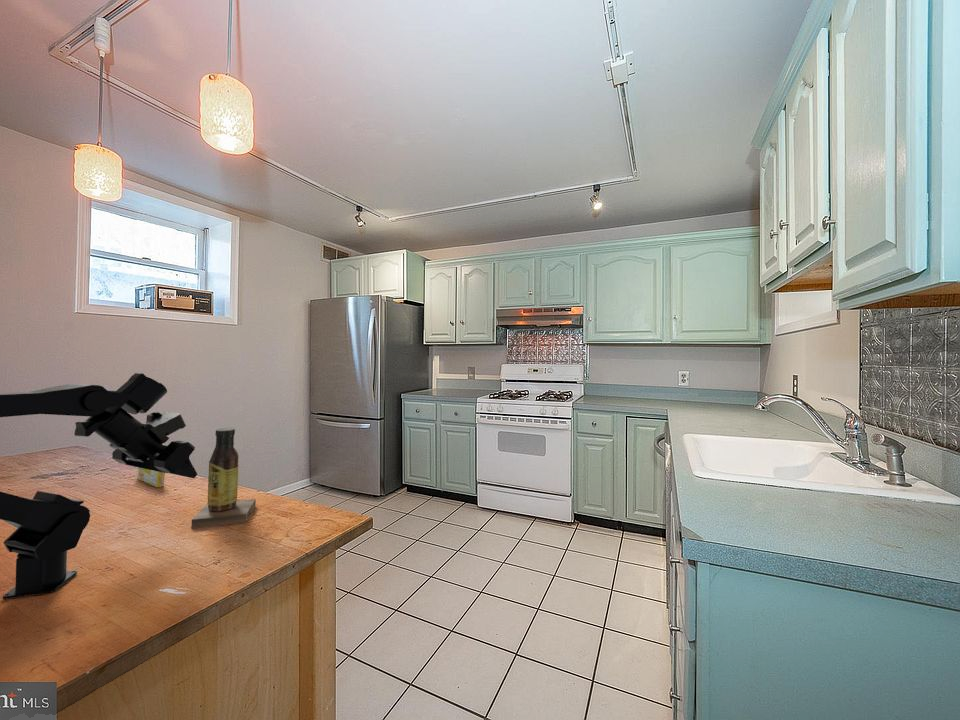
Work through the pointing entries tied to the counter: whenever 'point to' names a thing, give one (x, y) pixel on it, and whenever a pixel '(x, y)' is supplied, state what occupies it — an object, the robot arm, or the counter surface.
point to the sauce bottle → (223, 472)
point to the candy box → (151, 477)
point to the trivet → (224, 515)
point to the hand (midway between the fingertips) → (181, 473)
